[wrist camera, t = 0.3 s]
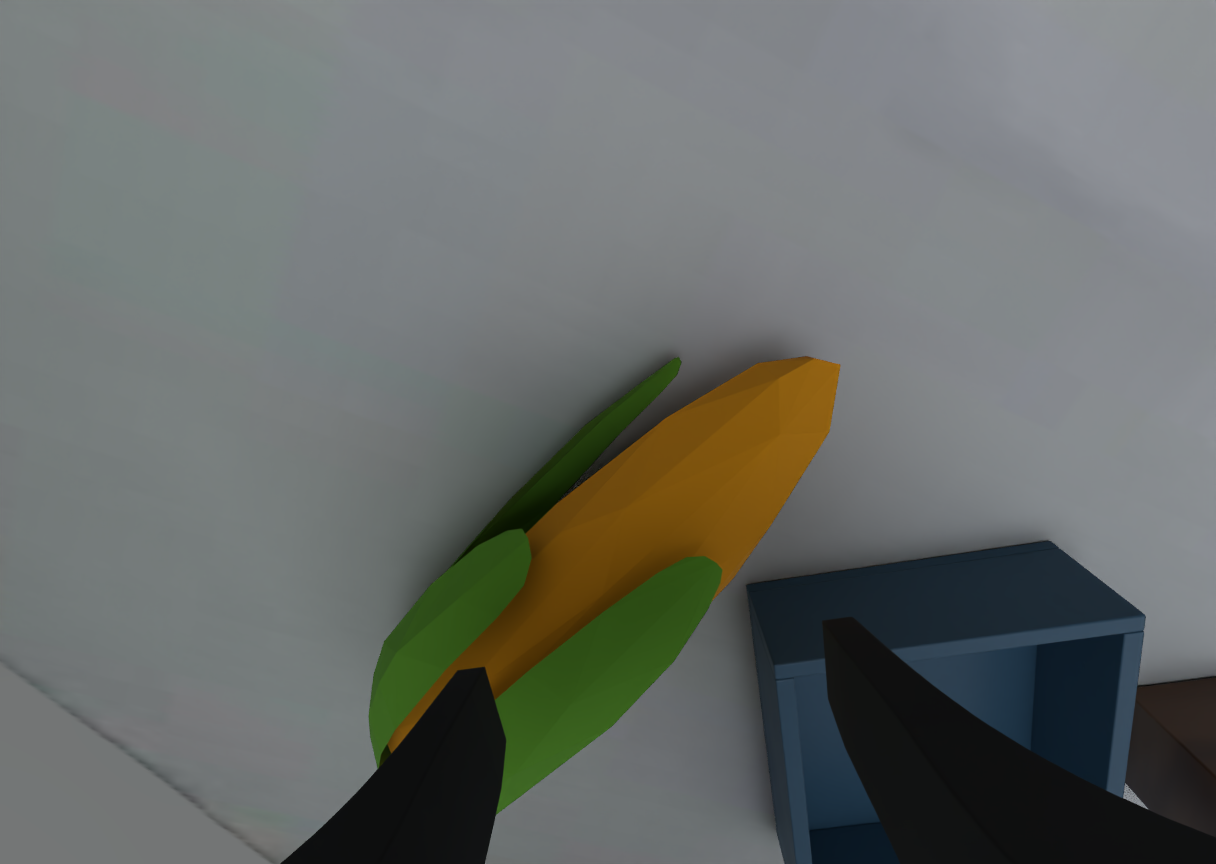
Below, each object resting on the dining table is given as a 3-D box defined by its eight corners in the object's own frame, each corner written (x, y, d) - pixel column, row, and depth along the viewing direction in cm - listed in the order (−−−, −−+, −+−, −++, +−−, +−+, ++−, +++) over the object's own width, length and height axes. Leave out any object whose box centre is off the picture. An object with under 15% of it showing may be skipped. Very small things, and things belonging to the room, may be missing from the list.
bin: (1033, 802, 28) (1109, 911, 23) (776, 832, 28) (804, 942, 24) (1050, 540, 23) (1147, 614, 19) (745, 584, 24) (773, 665, 20)
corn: (258, 823, 18) (773, 283, 13) (349, 638, 25) (705, 242, 20) (470, 923, 20) (989, 496, 15) (499, 726, 27) (857, 390, 22)
